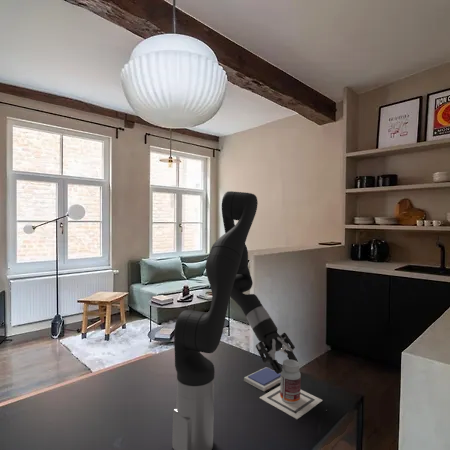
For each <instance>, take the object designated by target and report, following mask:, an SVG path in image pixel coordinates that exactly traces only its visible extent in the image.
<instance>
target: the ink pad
mask: <svg viewBox="0 0 450 450" xmlns="http://www.w3.org/2000/svg"><path fill="white" fill-rule="evenodd" d="M243 382H245V383H247V384H248V385H251V386H253V387H254V388H257V389H258V390H260V391H262V392H266V391H267V390H270V389H271V388H273V387H275V386H277V385H279V384H281V372H280V373H279V374H277V373H276V372H275V371H274V369H273V368H272V369H271V368H270V367H267V366H265V367H264V368H261V369H259V370H257V371H255V372H253V373H251V374H248V375H247V376H246V375H245V376H244V378H243Z"/></svg>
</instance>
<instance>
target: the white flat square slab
mask: <svg viewBox="0 0 450 450" xmlns="http://www.w3.org/2000/svg"><path fill="white" fill-rule="evenodd" d="M280 386H281V385H279V386H276V387H275V388H274V389H271V390H270V391H269V392H267V393H264V394H263V395H261V396H260V397H259V398H258V399H260V400H261V401H263V402H265V403H267V404H269V405H271V406H272V407H274V408H276V409H278V410H280V411H281V412H284V413H285V414H287V415H289V416H290V417H292V418H294V419H295V420H298V419H300V418H301V417H302V416H304V415H306V413H308V412H309V411H311V410H312V409H313V408H315V407H317V405H318V404H321V402H323V399H321V398H320V397H317V396H315V395H313V394H311V393H309V392H307V391H305V390H303V389H301V388H300V400H299V401H298V402H297V403H287V402H285V401H283V400H282V399H281V397H280Z"/></svg>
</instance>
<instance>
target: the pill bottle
mask: <svg viewBox="0 0 450 450" xmlns="http://www.w3.org/2000/svg"><path fill="white" fill-rule="evenodd" d="M281 369H282V372H280V374H281V382H280V385H279V386H280V397H281V399H282V400H283V401H285V402H287V403H297V402H298V401H299V400H300V389H301V385H302V384H301V383H302V382H301V381H302V379H301V378H302V377H301V376H302V375H301V371H300V363H299V361H298V362H297V361H295V360H291V359H289V358H288V359H284V360H283V361H282V368H281Z"/></svg>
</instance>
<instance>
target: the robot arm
mask: <svg viewBox="0 0 450 450" xmlns="http://www.w3.org/2000/svg"><path fill="white" fill-rule="evenodd" d="M258 205H259V203H258V197H257V196H256V194H254V193H251V192H241V191H232V190H231V191H229V190H228V191H226V192H225V193H224V195H223V197H222V200H221V217H222V221H223V228H224V234H222V235H221V236H220V237H219V238H217V240H216V241H215V242H214V243H213V244H212V245H211V247H210V251H209V254H208V256H207V258H206V263H205V273H206V277H207V280H208V283H209V286H210V290H211V294H212V295H211V303H210V309H209V310H208V312H205V311H199V310H192V309H185V310H182V311H181V312H180V313H179V314H178V316H177V318H176V320H175V325H174V331H173V346H174V367H175V368H174V369H175V371H176V407H175V408H173V409H172V439H171V440H172V444H171V445H172V446H171V447H172V448H173V450H212V449H213V448H214V417H215V415H214V412H215V410H214V409H215V408H214V407H215V373H216V372H215V371H216V370H215V365H214V363H213V362H212V361H211V360H210V359H208V358H207V357H206V356H204V355H203V354H212V353H214V352H216V351H217V349H218V347H219V345H220V342H221V340H222V336H223V333H224V332H223V331H224V326H225V322H226V317H227V313H228V307H229V302H230V298H231V299H232V300H233V301H234V302H235V303H236V304H237V305H238V307H240V308H241V309H240V310H241V311H242V312H243V314H244V316H245V318H246V320H247V322H248V325H249V326H250V328H251V329H252V331H253V333H254V335H255V337H256V338H257V341H259V342H258V343H256V345H255V348H256V350H257V352H258V354H259V356H260V359H261V360H262V362H263V363H265V364H266V363H268V364H270V366H271V368H272V370H274V371H275V372H276V373H277V374H279V373H280V374H281V372H282V369H283V368H282V367H281V365H280V363H279V362H278V360H277V359H276V352H281V353H284V354H285V355H287V358H288V359H291V360H295V361H297V362H298V363H299V361H298V358H297V357H296V355H295V354H294V353H295V352H293V351H294V349H296V347H295V345H294V343H293V342H292V340H291V339H290V337H289V336H288V334H287V333H286V332H283V333H282V334H281V335H280V334H279V333H278V329H279V328H278V327H277V325H276V324H275V322H274V320H273V318H272V317H271V316H270V314H269V312H268V311H267V310H266V309H265V307H264V306H263V304H262V302H261V300H260V299H259V297H258V296H257V295H256V294H253V293H251V294H250V293H248V294H245V292H248V291H250V290H251V289H252V288H253V279H252V276H251V272H250V268H249V250H248V248H247V244H246V242H247V238H248V236H249V233H250V229H251V227H252V224H253V222H254V219H255V217H256V214H257V210H258ZM235 221H237V222H236V224H235ZM202 353H203V354H202Z"/></svg>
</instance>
